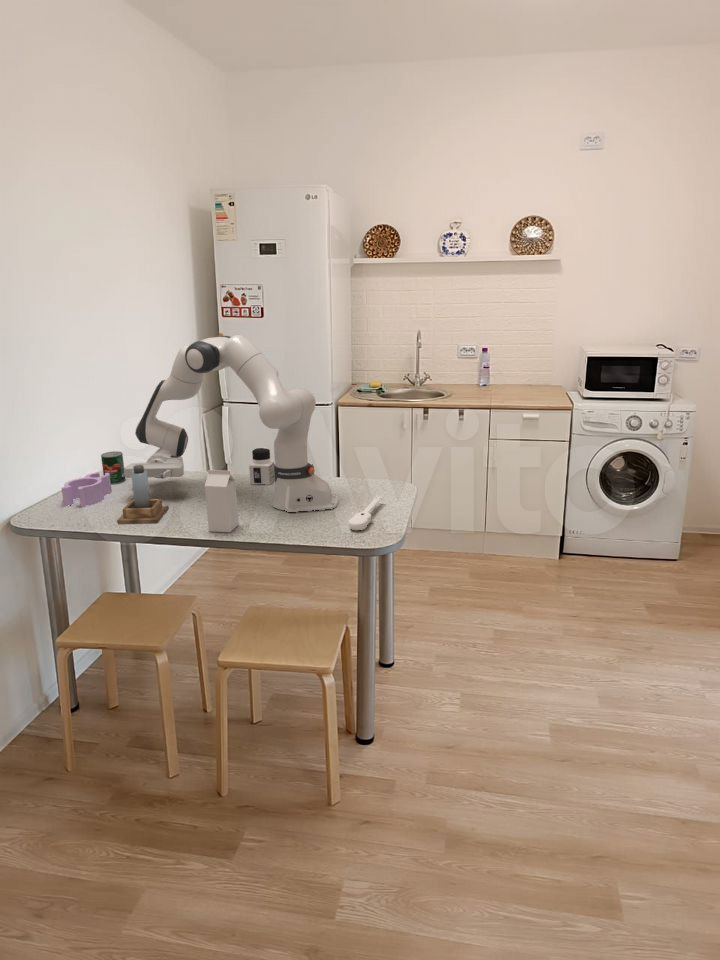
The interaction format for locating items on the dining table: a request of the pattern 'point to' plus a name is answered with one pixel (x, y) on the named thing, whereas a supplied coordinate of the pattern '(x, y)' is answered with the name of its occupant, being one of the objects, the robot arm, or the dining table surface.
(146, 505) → the bottle
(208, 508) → the milk carton
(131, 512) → the carton stand
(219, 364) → the robot arm
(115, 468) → the canned tomato
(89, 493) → the clip
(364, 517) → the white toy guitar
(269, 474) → the container
